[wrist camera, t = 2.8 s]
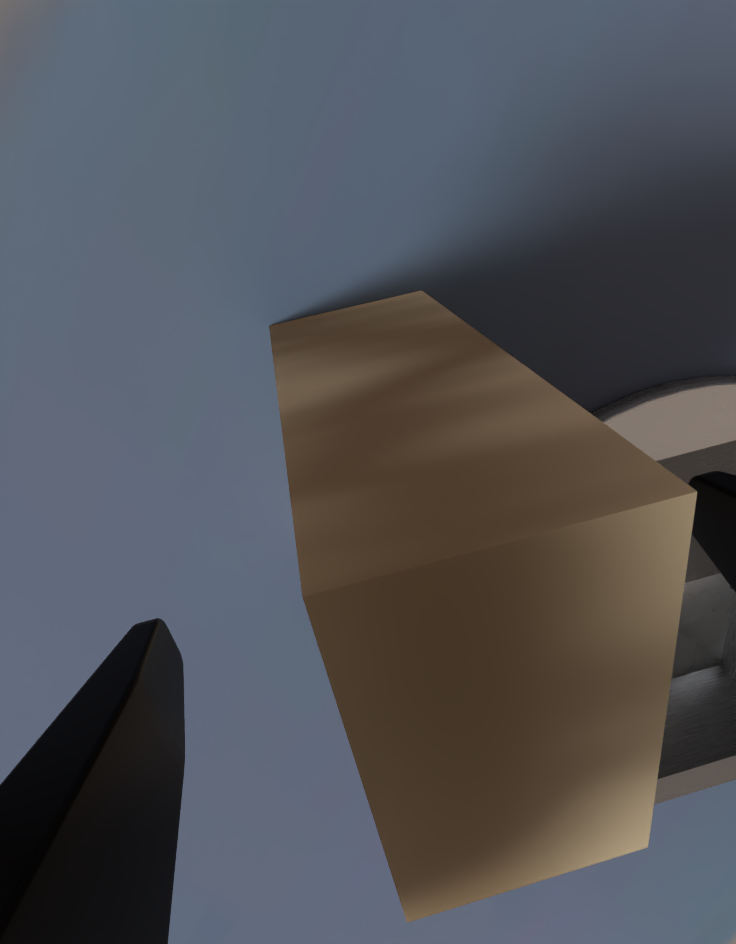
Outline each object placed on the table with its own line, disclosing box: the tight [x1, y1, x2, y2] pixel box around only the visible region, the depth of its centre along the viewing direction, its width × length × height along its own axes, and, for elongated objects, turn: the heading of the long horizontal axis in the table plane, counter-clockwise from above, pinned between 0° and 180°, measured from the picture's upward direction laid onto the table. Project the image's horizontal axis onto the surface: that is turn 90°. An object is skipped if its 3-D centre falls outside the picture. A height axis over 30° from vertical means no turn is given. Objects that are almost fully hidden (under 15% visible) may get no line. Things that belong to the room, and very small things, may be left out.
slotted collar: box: [591, 375, 736, 804], centre depth 17 cm, size 14×14×4 cm
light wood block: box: [269, 290, 697, 923], centre depth 10 cm, size 4×6×9 cm, turn 10°
